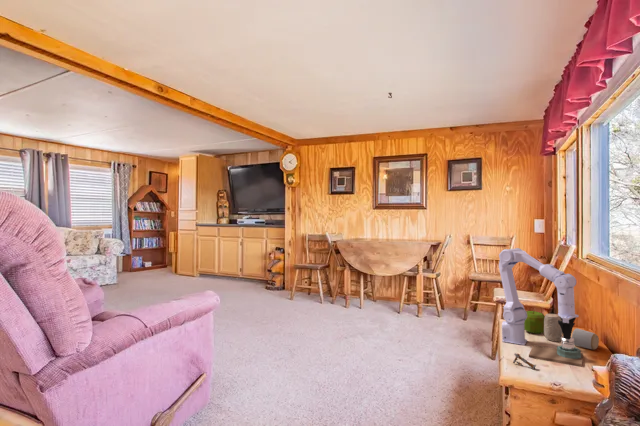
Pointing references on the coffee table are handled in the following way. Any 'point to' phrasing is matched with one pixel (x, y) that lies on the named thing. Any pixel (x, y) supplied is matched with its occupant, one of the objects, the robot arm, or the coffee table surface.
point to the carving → (552, 327)
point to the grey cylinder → (585, 339)
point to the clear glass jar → (567, 344)
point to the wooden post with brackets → (523, 361)
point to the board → (557, 355)
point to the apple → (534, 322)
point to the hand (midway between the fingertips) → (567, 336)
